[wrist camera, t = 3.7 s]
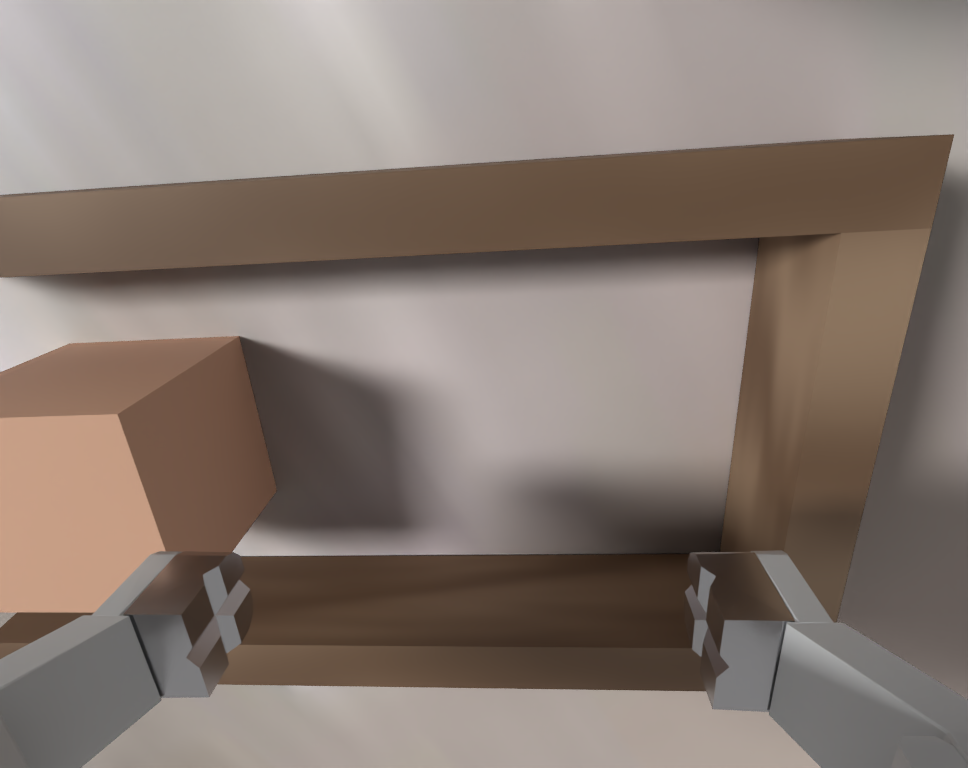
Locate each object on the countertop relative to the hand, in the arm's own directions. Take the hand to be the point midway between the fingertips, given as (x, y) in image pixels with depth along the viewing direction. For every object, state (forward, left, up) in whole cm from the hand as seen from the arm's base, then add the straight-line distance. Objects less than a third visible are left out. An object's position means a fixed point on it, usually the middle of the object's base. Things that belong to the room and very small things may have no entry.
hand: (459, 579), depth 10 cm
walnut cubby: (0, -3, -6) cm, 7 cm away
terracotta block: (0, -9, -6) cm, 11 cm away
